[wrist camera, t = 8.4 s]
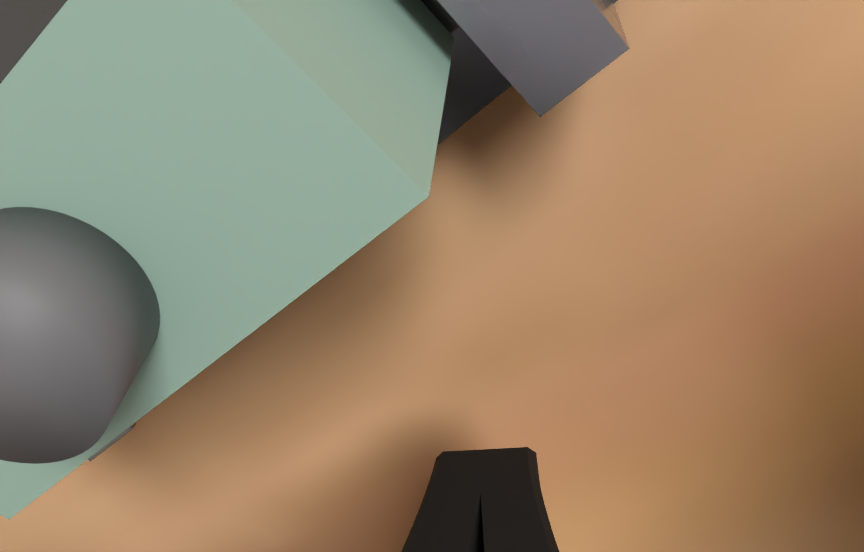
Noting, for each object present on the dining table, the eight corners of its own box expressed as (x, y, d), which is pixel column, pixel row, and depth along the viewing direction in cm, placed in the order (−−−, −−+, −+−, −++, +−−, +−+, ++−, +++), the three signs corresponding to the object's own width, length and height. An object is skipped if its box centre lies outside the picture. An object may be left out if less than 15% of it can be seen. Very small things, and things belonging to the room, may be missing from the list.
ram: (454, 38, 10) (415, 277, 6) (132, 317, 13) (-46, 608, 9) (273, -165, 9) (63, -48, 5) (-32, 193, 12) (-329, 460, 8)
